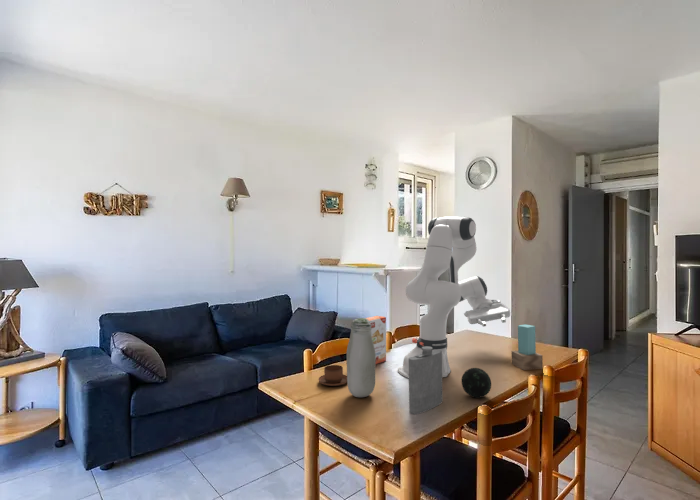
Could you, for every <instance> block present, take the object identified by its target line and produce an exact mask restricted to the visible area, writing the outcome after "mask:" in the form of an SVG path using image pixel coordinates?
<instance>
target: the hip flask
mask: <svg viewBox="0 0 700 500" xmlns="http://www.w3.org/2000/svg"><path fill="white" fill-rule="evenodd" d="M408 390H409V391H408V398H409V399H408V401H409V402H408V403H409V405H408V409H409V410H408V411H409V414H412V415H419V414H421V413H424V412H427V411H430V410H432V409H434V408H436V407H437V406H439V405H440V404H442V403H443V400H444V399H443V377H442V351H441V350H433V348H432V347H428V346H425V347H422V354H419V355H416V356H414V357H409V378H408Z"/></svg>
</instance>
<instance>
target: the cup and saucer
mask: <svg viewBox="0 0 700 500" xmlns="http://www.w3.org/2000/svg"><path fill="white" fill-rule="evenodd" d="M323 369H324V374H323V375H321V376H319V377H318V382H319V383H320V384H322V385H324V386H327V387H339V386H341V385H345V384H346V383H347V374H344V371H343V370H344V369H343V366H342V365H336V364H331V365H326V366H324V368H323Z"/></svg>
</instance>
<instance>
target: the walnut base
mask: <svg viewBox="0 0 700 500" xmlns="http://www.w3.org/2000/svg"><path fill="white" fill-rule="evenodd" d="M543 360H544V359H543V354H540V353H538V352H536V354H531V355H525V354H522V353H518V350H511V365H513V366H514V367H517V368H519V369H521V370H523V371H527V370H530V371H531V370H542V368H543V367H544V366H543V362H544V361H543Z"/></svg>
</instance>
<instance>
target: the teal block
mask: <svg viewBox="0 0 700 500" xmlns="http://www.w3.org/2000/svg"><path fill="white" fill-rule="evenodd" d="M536 342H537V341H536V325H532V324H531V325H530V324H525V323H524V324H519V325H517V351H518V353H522V354H525V355H531V354H536V353H537V351H536V350H537V349H536V348H537V347H536V344H537V343H536Z"/></svg>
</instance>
